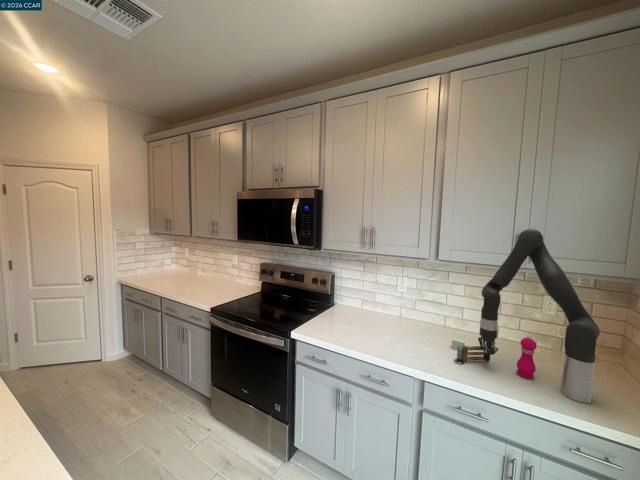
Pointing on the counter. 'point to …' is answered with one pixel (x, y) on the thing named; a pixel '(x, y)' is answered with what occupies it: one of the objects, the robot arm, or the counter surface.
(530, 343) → the pepper mill
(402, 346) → the counter surface
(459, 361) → the hinge post
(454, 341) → the block
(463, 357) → the gate
